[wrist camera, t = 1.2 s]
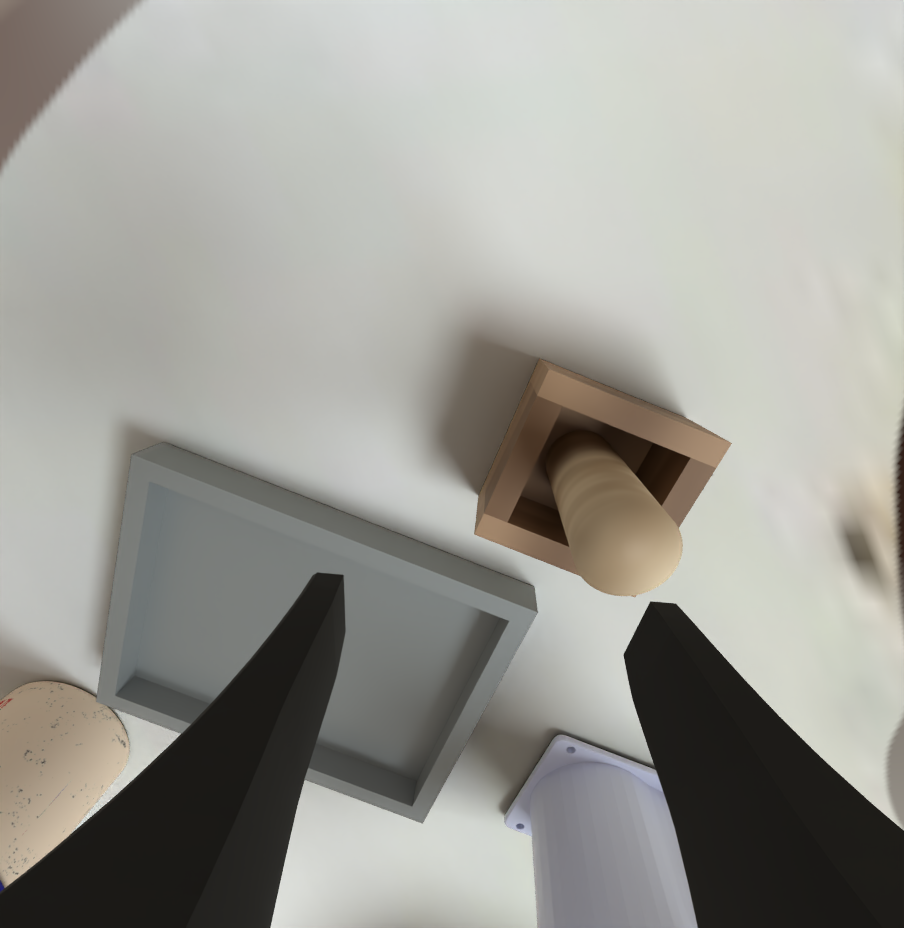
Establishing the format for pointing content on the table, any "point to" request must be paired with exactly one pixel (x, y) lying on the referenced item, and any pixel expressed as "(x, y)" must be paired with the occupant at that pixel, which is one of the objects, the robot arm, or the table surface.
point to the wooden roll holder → (621, 424)
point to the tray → (271, 596)
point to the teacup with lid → (51, 768)
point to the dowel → (610, 517)
